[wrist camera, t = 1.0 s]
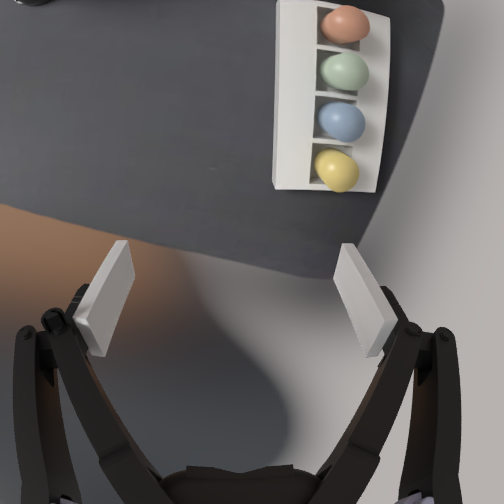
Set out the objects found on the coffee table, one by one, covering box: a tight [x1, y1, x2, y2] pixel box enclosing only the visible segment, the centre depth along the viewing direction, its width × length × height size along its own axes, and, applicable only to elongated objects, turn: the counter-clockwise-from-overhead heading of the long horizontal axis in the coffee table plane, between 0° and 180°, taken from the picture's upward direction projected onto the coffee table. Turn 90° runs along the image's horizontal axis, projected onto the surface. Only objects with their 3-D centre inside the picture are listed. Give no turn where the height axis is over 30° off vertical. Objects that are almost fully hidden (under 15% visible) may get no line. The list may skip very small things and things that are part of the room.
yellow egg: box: [314, 147, 359, 192], centre depth 32 cm, size 4×4×4 cm
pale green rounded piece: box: [319, 53, 369, 91], centre depth 25 cm, size 4×4×4 cm
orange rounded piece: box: [320, 5, 370, 45], centre depth 22 cm, size 4×4×4 cm
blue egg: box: [317, 101, 365, 143], centre depth 29 cm, size 4×4×4 cm
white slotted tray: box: [272, 0, 390, 193], centre depth 30 cm, size 25×14×4 cm, turn 179°
